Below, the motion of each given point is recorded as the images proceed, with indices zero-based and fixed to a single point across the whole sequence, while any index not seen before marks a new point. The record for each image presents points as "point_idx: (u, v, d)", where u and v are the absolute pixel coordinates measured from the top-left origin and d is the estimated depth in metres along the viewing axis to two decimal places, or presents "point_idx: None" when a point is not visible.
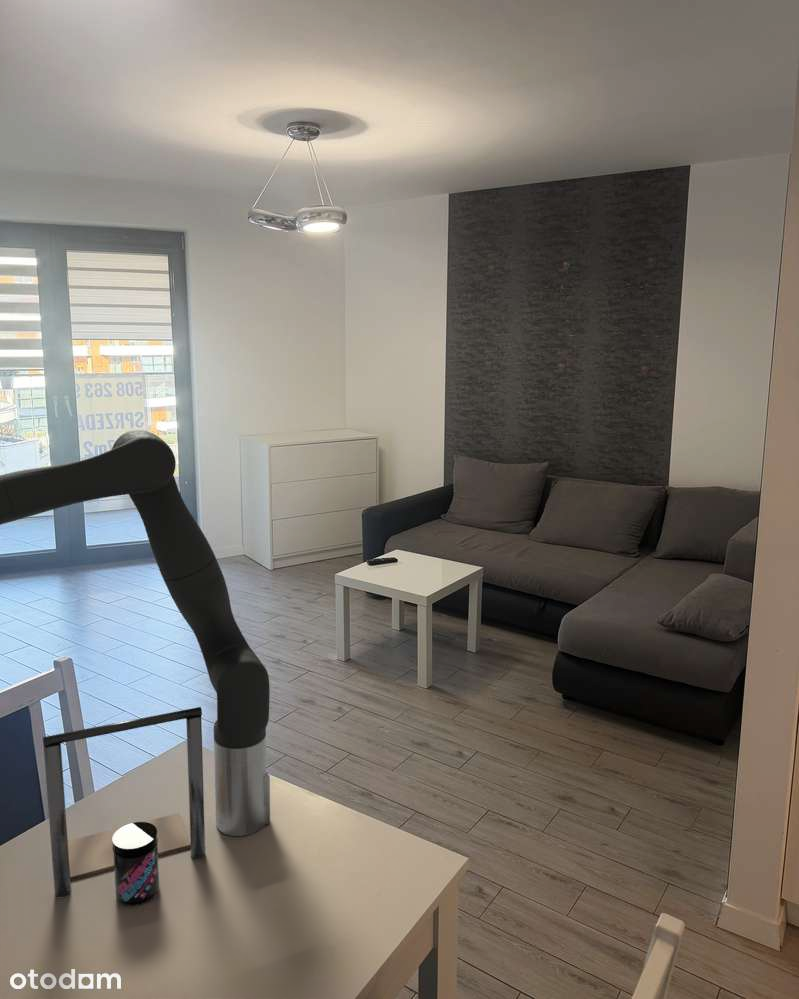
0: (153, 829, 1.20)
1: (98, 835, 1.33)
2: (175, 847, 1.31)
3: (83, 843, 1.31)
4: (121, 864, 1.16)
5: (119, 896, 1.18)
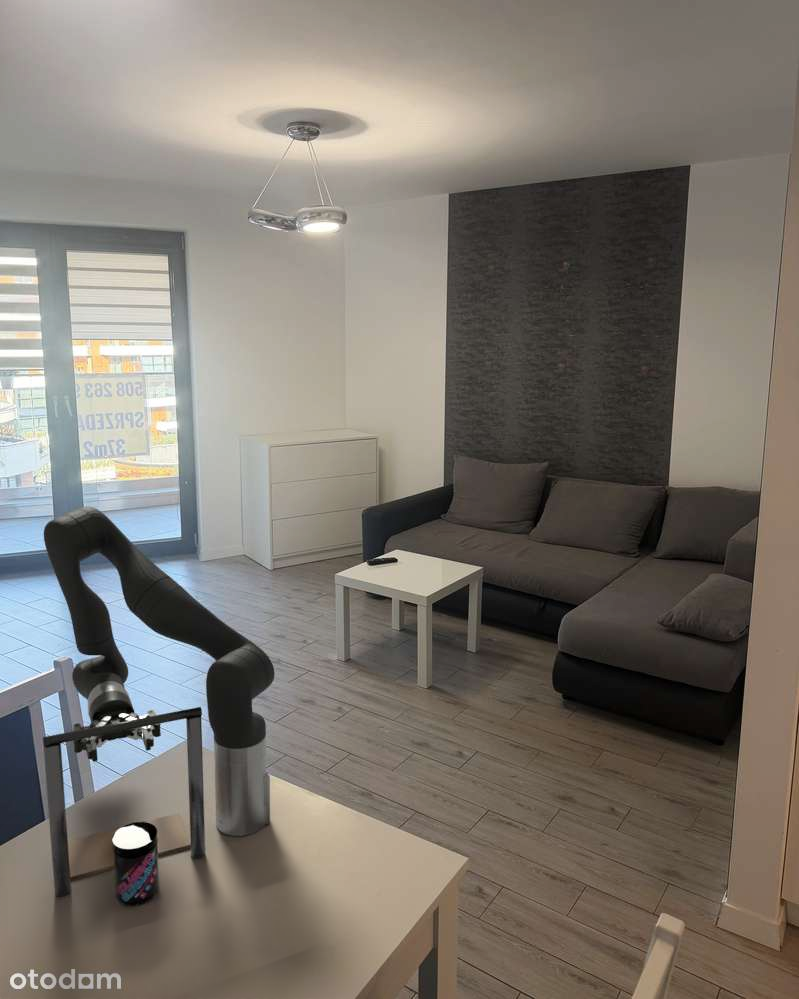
0: (153, 829, 1.20)
1: (98, 835, 1.33)
2: (175, 847, 1.31)
3: (83, 843, 1.31)
4: (121, 864, 1.16)
5: (119, 896, 1.18)
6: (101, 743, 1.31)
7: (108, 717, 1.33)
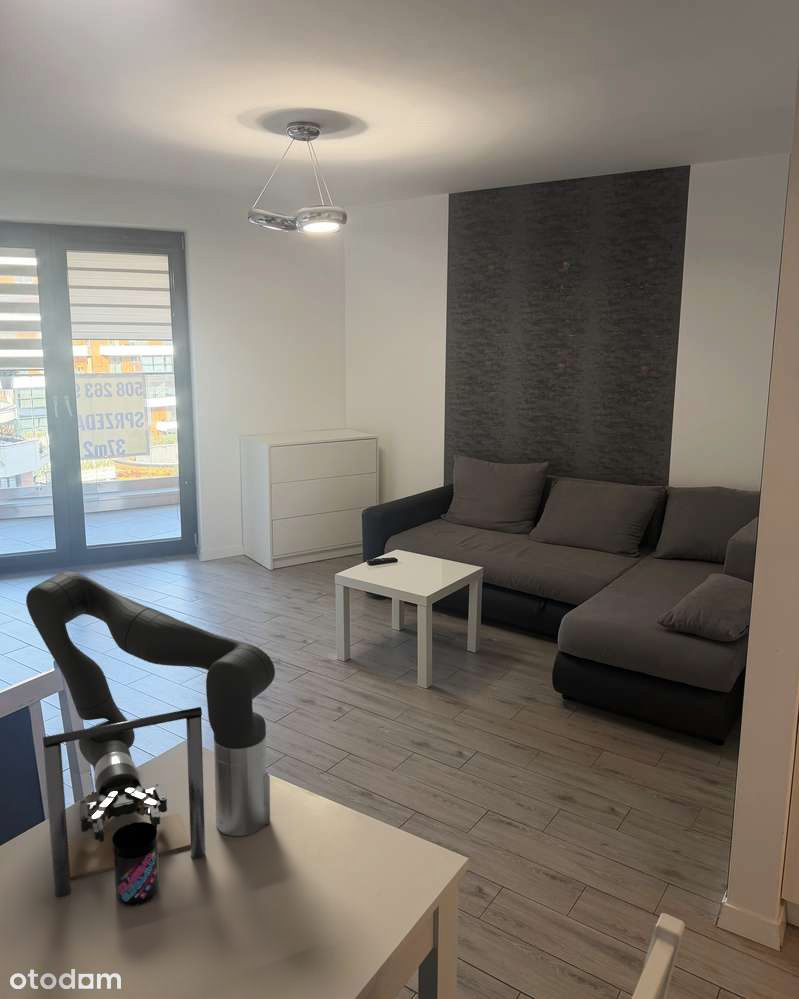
0: (153, 829, 1.20)
1: None
2: (175, 847, 1.31)
3: (83, 843, 1.31)
4: (121, 864, 1.16)
5: (119, 896, 1.18)
6: (108, 820, 1.31)
7: (114, 792, 1.33)
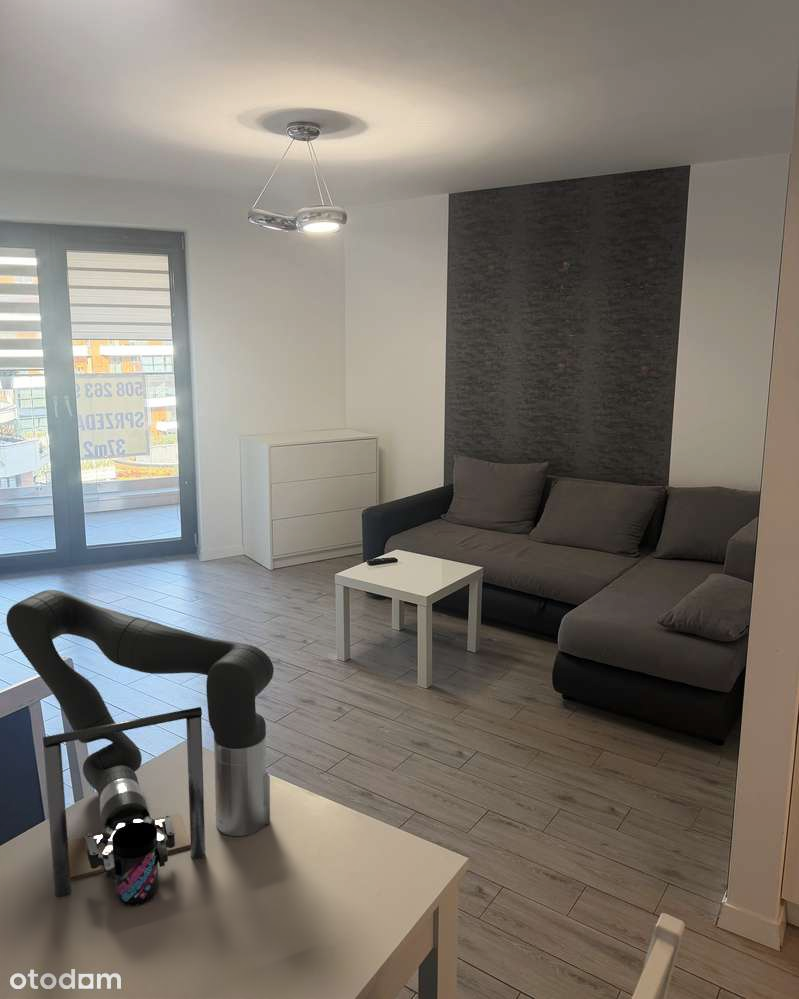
0: (153, 829, 1.20)
1: (98, 835, 1.33)
2: (175, 847, 1.31)
3: (83, 843, 1.31)
4: (121, 864, 1.16)
5: (119, 896, 1.18)
6: None
7: (122, 824, 1.25)
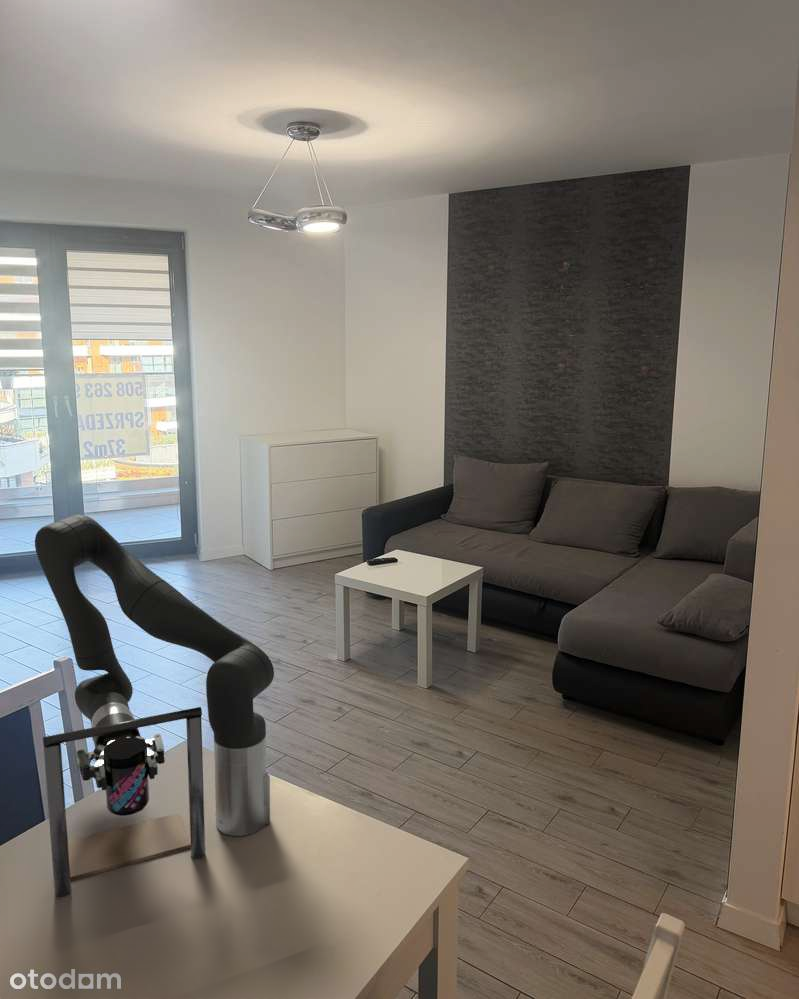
0: (143, 743, 1.24)
1: (98, 835, 1.33)
2: (175, 847, 1.31)
3: (83, 843, 1.31)
4: (112, 775, 1.20)
5: (110, 806, 1.21)
6: None
7: None
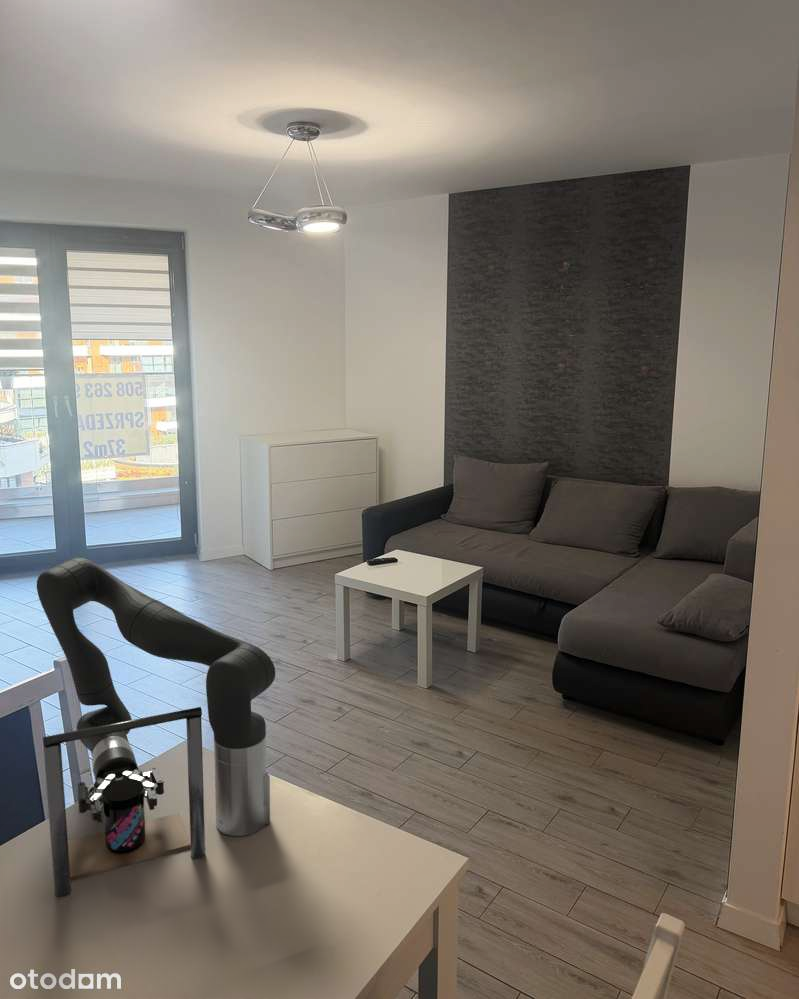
0: (140, 785, 1.31)
1: (98, 835, 1.33)
2: (175, 847, 1.31)
3: (83, 843, 1.31)
4: (110, 815, 1.27)
5: (108, 845, 1.29)
6: None
7: (112, 775, 1.35)
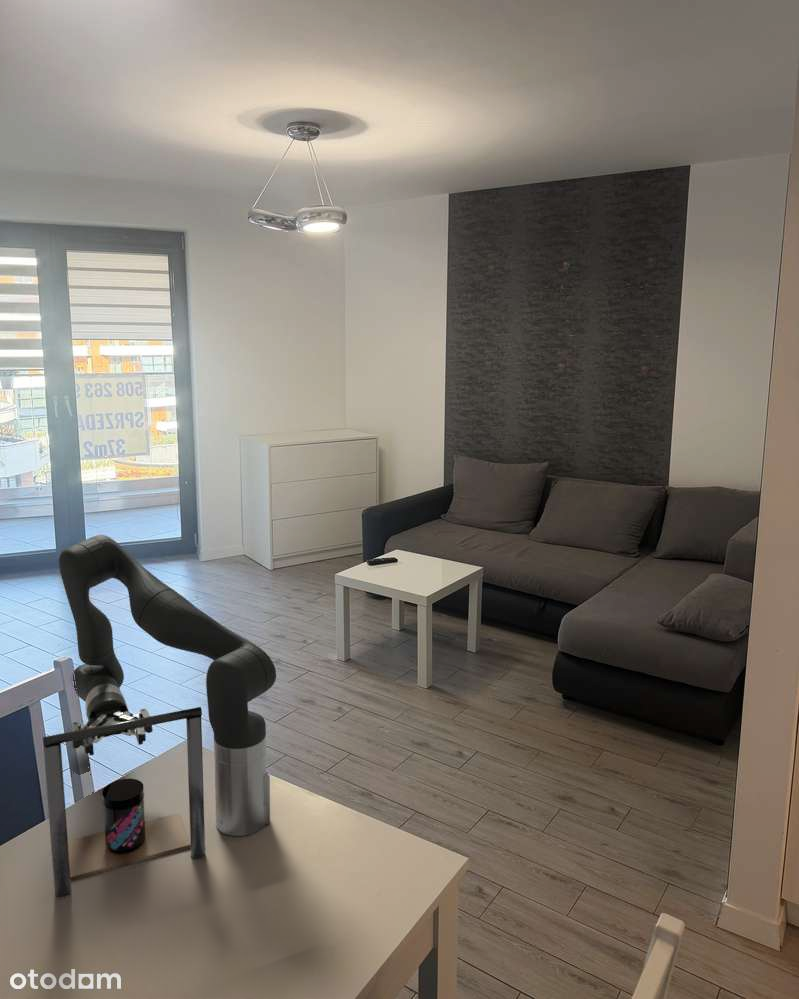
0: (140, 784, 1.31)
1: (98, 835, 1.33)
2: (175, 847, 1.31)
3: (83, 843, 1.31)
4: (110, 815, 1.27)
5: (108, 845, 1.29)
6: (97, 739, 1.42)
7: (104, 715, 1.45)
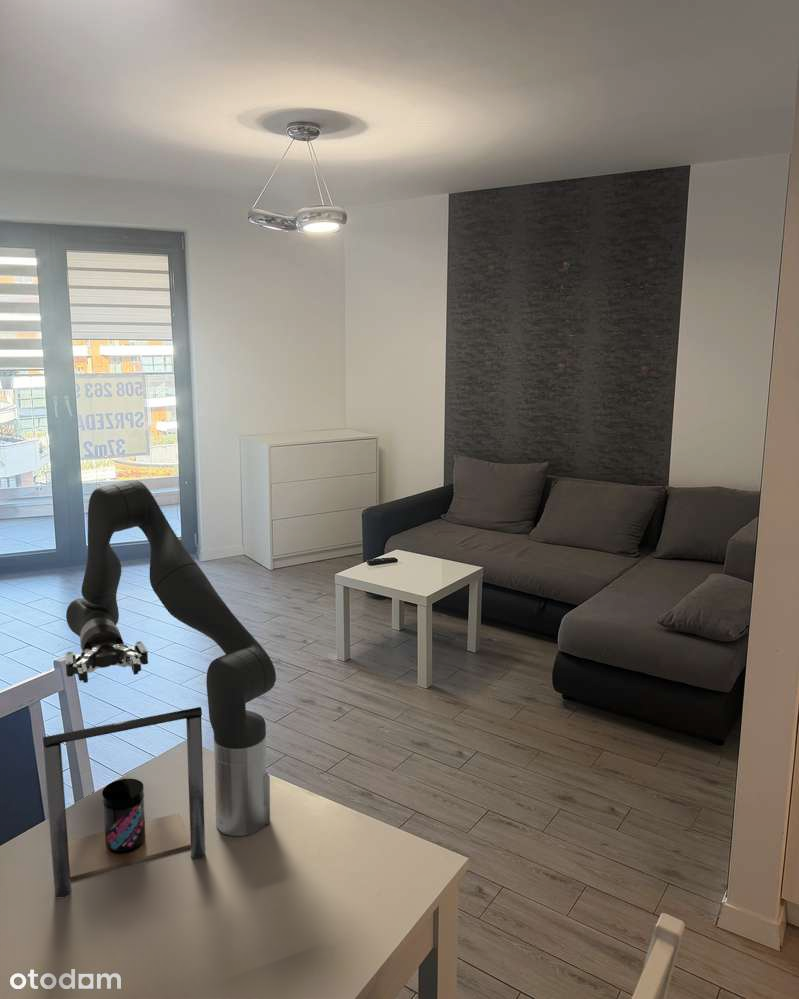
0: (140, 784, 1.31)
1: (98, 835, 1.33)
2: (175, 847, 1.31)
3: (83, 843, 1.31)
4: (110, 815, 1.27)
5: (108, 845, 1.29)
6: (92, 669, 1.39)
7: (98, 646, 1.42)
